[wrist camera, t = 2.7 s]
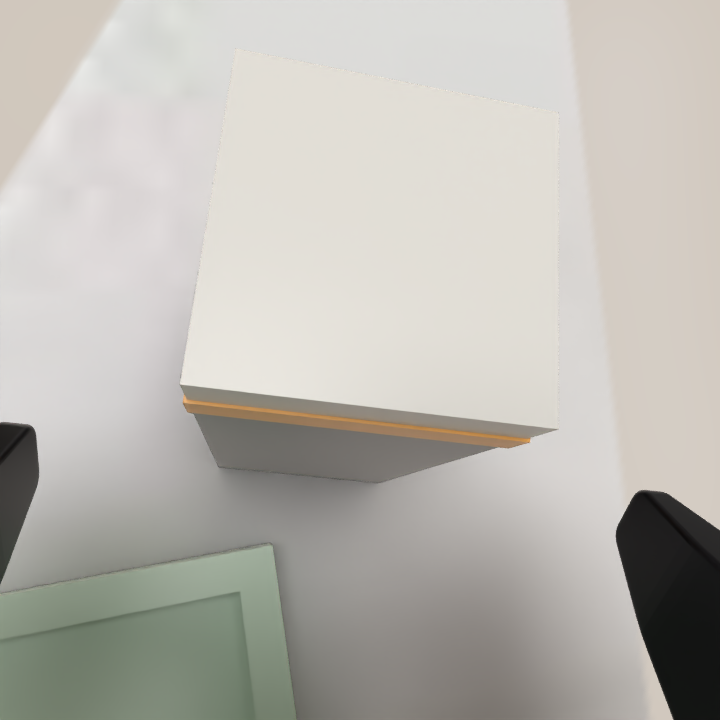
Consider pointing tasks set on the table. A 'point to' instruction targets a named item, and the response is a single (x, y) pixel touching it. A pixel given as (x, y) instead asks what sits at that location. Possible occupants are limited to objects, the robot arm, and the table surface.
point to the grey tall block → (374, 275)
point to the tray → (150, 644)
